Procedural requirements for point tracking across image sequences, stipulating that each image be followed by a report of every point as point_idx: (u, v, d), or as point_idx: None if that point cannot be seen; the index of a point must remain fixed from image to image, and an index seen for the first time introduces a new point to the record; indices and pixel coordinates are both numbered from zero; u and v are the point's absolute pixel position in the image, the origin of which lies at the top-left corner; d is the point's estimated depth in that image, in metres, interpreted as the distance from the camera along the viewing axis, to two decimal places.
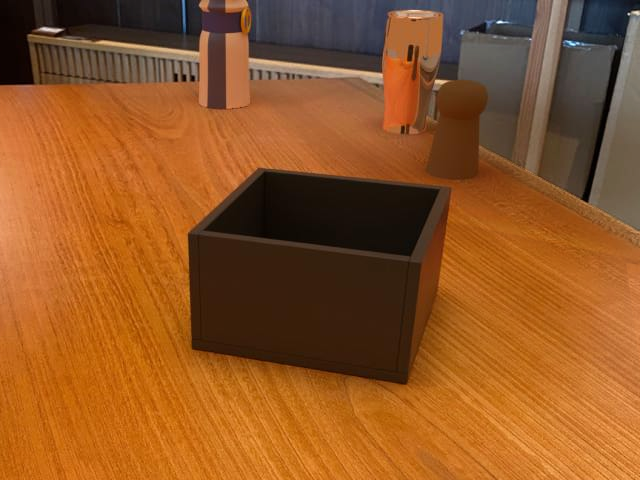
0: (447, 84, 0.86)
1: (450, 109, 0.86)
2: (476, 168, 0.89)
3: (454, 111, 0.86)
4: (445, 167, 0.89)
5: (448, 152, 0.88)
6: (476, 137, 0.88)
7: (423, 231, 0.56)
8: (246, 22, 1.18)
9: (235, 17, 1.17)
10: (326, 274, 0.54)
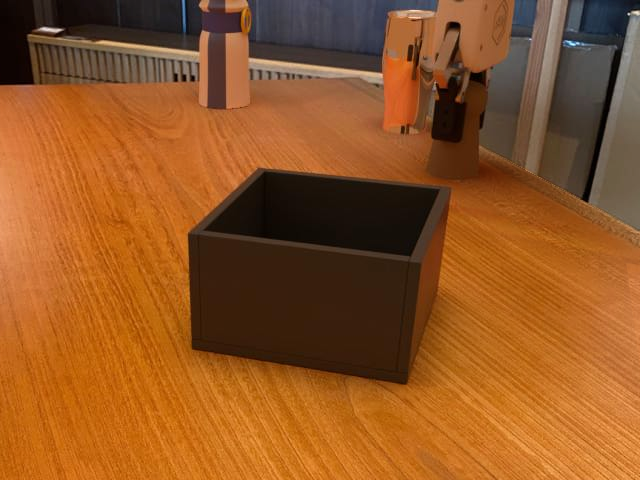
0: None
1: None
2: (476, 168, 0.89)
3: None
4: (445, 167, 0.89)
5: (448, 152, 0.88)
6: (476, 137, 0.88)
7: (423, 231, 0.56)
8: (246, 22, 1.18)
9: (235, 17, 1.17)
10: (326, 274, 0.54)
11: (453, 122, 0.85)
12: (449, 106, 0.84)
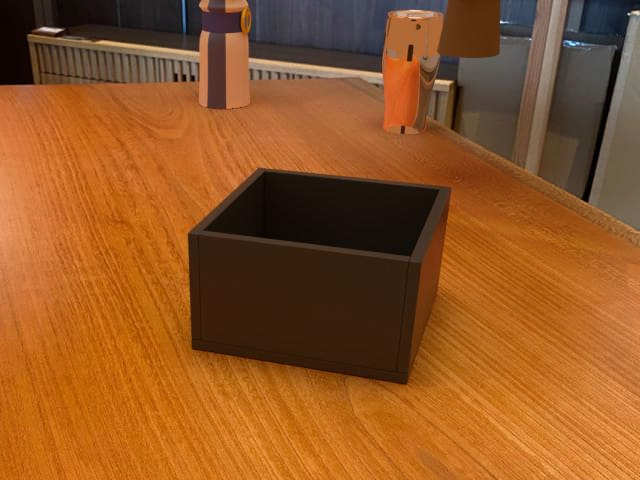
0: None
1: None
2: (497, 27, 0.80)
3: None
4: (463, 25, 0.80)
5: (466, 7, 0.79)
6: None
7: (423, 231, 0.56)
8: (246, 22, 1.18)
9: (235, 17, 1.17)
10: (326, 274, 0.54)
11: None
12: None
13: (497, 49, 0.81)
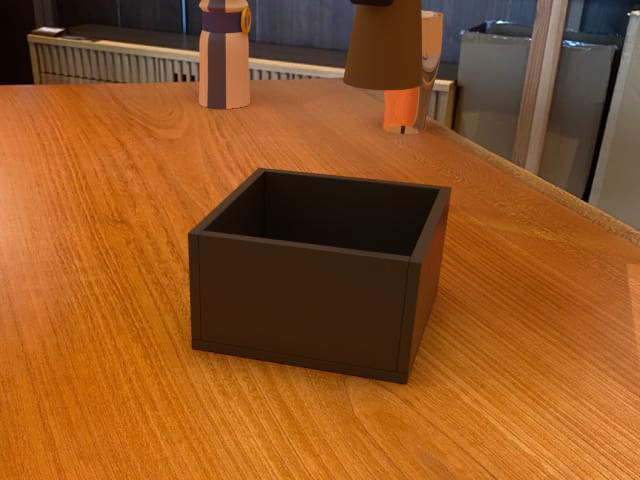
0: None
1: None
2: (418, 51, 0.61)
3: None
4: (372, 47, 0.60)
5: (375, 23, 0.60)
6: (416, 2, 0.60)
7: (423, 231, 0.56)
8: (246, 22, 1.18)
9: (235, 17, 1.17)
10: (326, 274, 0.54)
11: None
12: None
13: (418, 79, 0.62)
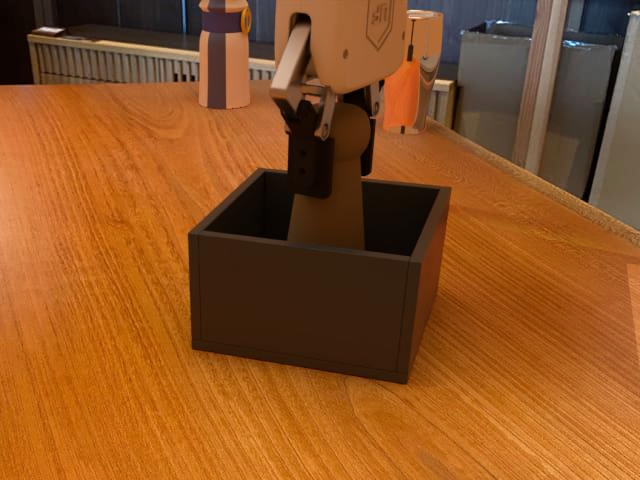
0: None
1: None
2: (359, 234, 0.60)
3: None
4: (311, 232, 0.59)
5: (313, 210, 0.58)
6: (356, 188, 0.58)
7: (423, 231, 0.56)
8: (246, 22, 1.18)
9: (235, 17, 1.17)
10: (326, 274, 0.54)
11: (315, 168, 0.55)
12: (307, 144, 0.54)
13: None
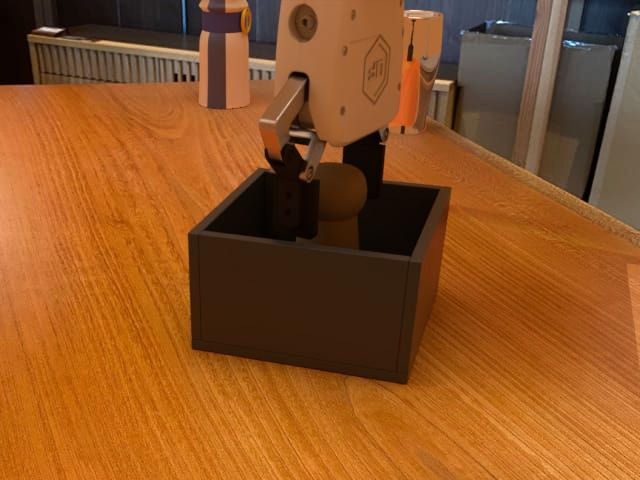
0: None
1: None
2: None
3: None
4: None
5: None
6: (353, 245, 0.60)
7: (423, 231, 0.56)
8: (246, 22, 1.18)
9: (235, 17, 1.17)
10: (326, 274, 0.54)
11: (300, 210, 0.55)
12: (293, 186, 0.54)
13: None
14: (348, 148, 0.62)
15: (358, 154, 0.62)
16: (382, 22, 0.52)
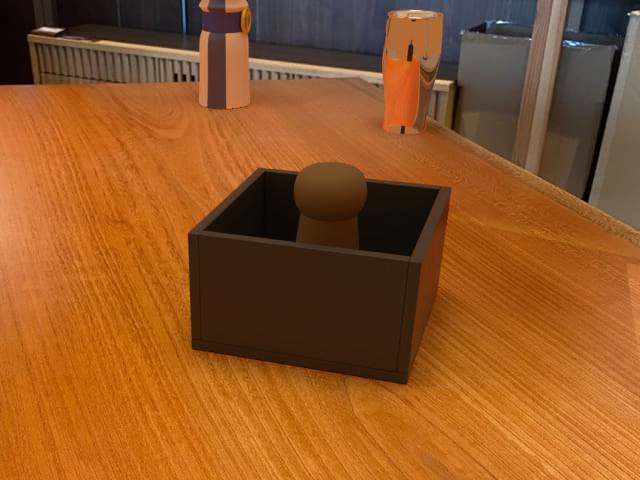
0: (307, 170, 0.59)
1: (310, 208, 0.58)
2: None
3: (316, 211, 0.58)
4: None
5: None
6: (353, 245, 0.60)
7: (423, 231, 0.56)
8: (246, 22, 1.18)
9: (235, 17, 1.17)
10: (326, 274, 0.54)
11: None
12: None
13: None
14: None
15: None
16: None
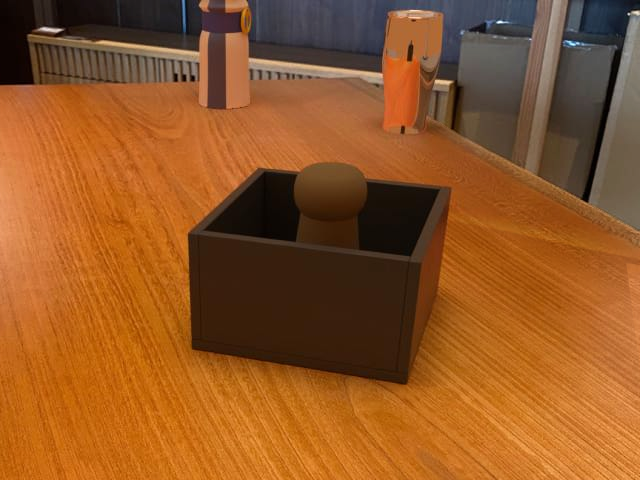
0: (307, 170, 0.58)
1: (310, 208, 0.58)
2: None
3: (316, 211, 0.58)
4: None
5: None
6: (353, 245, 0.60)
7: (423, 231, 0.56)
8: (246, 22, 1.18)
9: (235, 17, 1.17)
10: (326, 274, 0.54)
11: None
12: None
13: None
14: None
15: None
16: None
